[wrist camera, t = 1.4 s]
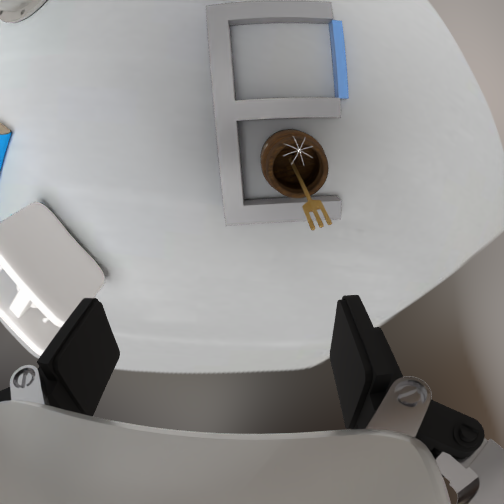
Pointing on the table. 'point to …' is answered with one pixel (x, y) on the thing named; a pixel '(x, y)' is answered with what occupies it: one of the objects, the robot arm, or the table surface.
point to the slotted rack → (266, 104)
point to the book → (3, 141)
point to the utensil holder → (296, 169)
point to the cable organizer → (42, 275)
